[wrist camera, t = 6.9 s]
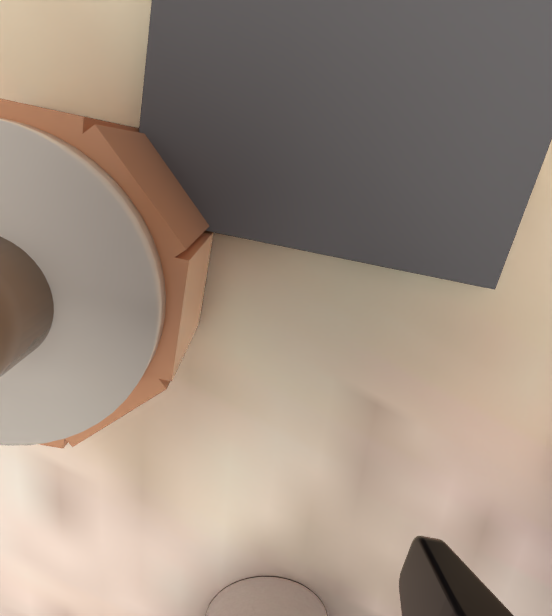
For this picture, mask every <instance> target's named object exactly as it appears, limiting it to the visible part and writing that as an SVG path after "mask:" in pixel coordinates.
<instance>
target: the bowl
mask: <svg viewBox="0 0 552 616" xmlns="http://www.w3.org/2000/svg"><path fill="white" fill-rule="evenodd" d="M0 118H5V119H9V120H13V121H16V122H20V123H24V124H27V125H31V126H33V127H36V128H38V129H40V130H43V131H45V132H48V133H50V134H53V135H54V136H56V137H58V138H60V139H62V140H63V141H65V142H67V143H69V144H71V145H72V146H74V147H76V148H77V149H78V150H80V151H81V152H82V153H84V154H85V155H87V156H88V157H89V158H91V159H92V160H93V161H95V162H96V163H97V164H98V165H99V166H100V167H101V168H102V169H104V170H105V171H106V172H107V173H108V174H109V175H110V176H111V177H112V178H113V179H114V180H115V181H116V182H117V183H118V185H119V186H120V187H121V188H122V189H123V190H124V192H125V193H126V194H127V195H128V196H129V198H130V199H131V201H132V202H133V204H134V205H135V207H136V208H137V210H138V211H139V213H140V214H141V216H142V217H143V219H144V221H145V223H146V225H147V227H148V229H149V231H150V233H151V235H152V237H153V240H154V243H155V245H156V248H157V251H158V254H159V256H160V260H161V265H162V269H163V274H164V279H165V291H166V311H165V321H164V326H163V331H162V336H161V339H160V342H159V344H158V347H157V350H156V353H155V355H154V357H153V358H152V360H151V362H150V364H149V366H148V368H147V370H146V371H145V373H144V374H143V376H142V378H141V379H140V381H139V383H138V384H137V385H136V387H135V388H134V390H133V391H132V392H131V394H130V395H129V396H128V398H127V399H126V400H125V401H124V402H123V403H122V404H121V405H120V406H119V407H118V408H117V409H116V410H115V411H114V412H113V413H112V414H110V415H109V416H107V417H106V418H105V419H103V420H102V421H101V422H99V423H98V424H96V425H94V426H92V427H90V428H89V429H87V430H85V431H83V432H81V433H78V434H75V435H73V436H70V437H68V438H65V439H61V440H57V441H53V442H48V443H42V444H40V445H46V446H52V447H58V448H64V447H65V446H66V444H67V443H68V442H69V444H70V445H71V446H72V447H73V446H75V445H77V444H78V443H80V442H81V441H83V440H85V439H86V438H88V437H90V436H91V435H93V434H94V433H96V432H98V431H99V430H101V429H102V428H104V427H106V426H107V425H109V424H111V423H112V422H114V421H115V420H117V419H119V418H120V417H122V416H124V415H125V414H127V413H128V412H130V411H132V410H133V409H135V408H136V407H138V406H140V405H141V404H143V403H145V402H146V401H148V400H149V399H151V398H153V397H154V396H156V395H157V394H159V393H161V392H162V391H164V390H166V389H167V387H168V385H169V383H170V381H172V380H173V378H174V375H175V373H176V371H177V369H178V367H179V365H180V363H181V361H182V359H183V356H184V354H185V352H186V350H187V348H188V346H189V344H190V342H191V339H192V337H193V335H194V333H195V331H196V329H197V327H198V325H199V322H200V315H201V309H202V303H203V297H204V290H205V284H206V278H207V271H208V265H209V259H210V253H211V246H212V240H213V234H214V232H210V231H205V230H206V229H207V228H208V227H209V225H208V223H207V222H206V220H205V219H204V217H203V216H202V215H201V213H200V212H199V210H198V209H197V207H196V206H195V205H194V203H193V202H192V200H191V199H190V198H189V196H188V195H187V193H186V192H185V190H184V189H183V188H182V186H181V185H180V183H179V182H178V180H177V179H176V178H175V176H174V175H173V173H172V172H171V170H170V169H169V168H168V166H167V165H166V163H165V162H164V161H163V159H162V158H161V156H160V155H159V153H158V152H157V151H156V149H155V148H154V146H153V145H152V143H151V142H150V141H149V139H148V138H147V136H146V135H145V134H144V133H139V128H134V127H130V126H125V125H120V124H116V123H111V122H106V121H102V120H97V119H93V118H88V117H83V116H79V115H74V114H69V113H65V112H60V111H56V110H51V109H46V108H42V107H37V106H32V105H28V104H23V103H18V102H14V101H9V100H5V99H0Z"/></svg>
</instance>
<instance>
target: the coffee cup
mask: <svg viewBox="0 0 552 616" xmlns="http://www.w3.org/2000/svg"><path fill="white" fill-rule="evenodd" d="M206 616H327V613H326V610H325V607H324V605H323V604H322V602H321V601H320V599H319V598H318V597H317V596H316V595H315V594H314V593H313V592H312V591H310V590H309V589H308V588H306V587H304V586H303V585H301V584H299V583H296V582H294V581H291V580H287V579H283V578H278V577H255V578H249V579H245V580H241V581H238V582H236V583H234V584H232V585H230V586H228V587H226V588H225V589H223V590H222V591H221V592H220V593H218V594H217V595H216V597H215V598H214V599H213V600H212V602H211V603H210V605H209V607H208V610H207V613H206Z"/></svg>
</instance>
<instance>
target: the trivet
mask: <svg viewBox="0 0 552 616" xmlns="http://www.w3.org/2000/svg"><path fill="white" fill-rule="evenodd" d="M139 133H144V134H145V135H146V136H147V138H148V139H149V141H150V142H151V143H152V145H153V146H154V148H155V149H156V151H157V152H158V153H159V155H160V156H161V158H162V159H163V161H164V162H165V163H166V165H167V166H168V168H169V169H170V170H171V172H172V173H173V175H174V176H175V178H176V179H177V180H178V182H179V183H180V185H181V186H182V188H183V189H184V190H185V192H186V193H187V195H188V196H189V198H190V199H191V200H192V202H193V203H194V205H195V206H196V207H197V209H198V210H199V212H200V213H201V215H202V216H203V217H204V219H205V220H206V222H207V223H208V225H209V227H208V228H207V229H206V230H205V231H210V232H215V233H220V234H225V235H230V236H235V237H240V238H245V239H249V240H254V241H259V242H264V243H269V244H274V245H279V246H284V247H289V248H294V249H299V250H303V251H308V252H313V253H318V254H323V255H328V256H333V257H338V258H343V259H348V260H352V261H357V262H362V263H367V264H372V265H377V266H382V267H387V268H392V269H397V270H402V271H406V272H411V273H416V274H421V275H426V276H431V277H436V278H441V279H446V280H451V281H456V282H460V283H465V284H470V285H475V286H480V287H485V288H490V289H495V288H496V285H497V283H498V280H499V277H500V275H501V272H502V269H503V267H504V264H505V261H506V259H507V256H508V253H509V251H510V248H511V246H512V243H513V240H514V238H515V235H516V232H517V230H518V227H519V224H520V222H521V219H522V216H523V214H524V211H525V208H526V206H527V203H528V200H529V198H530V195H531V193H532V190H533V187H534V185H535V182H536V179H537V177H538V174H539V171H540V169H541V166H542V163H543V161H544V158H545V155H546V153H547V150H548V147H549V145H550V142H551V140H552V0H152V5H151V15H150V25H149V36H148V46H147V56H146V66H145V76H144V86H143V96H142V107H141V117H140V127H139Z"/></svg>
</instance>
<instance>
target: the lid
mask: <svg viewBox="0 0 552 616" xmlns="http://www.w3.org/2000/svg"><path fill="white" fill-rule="evenodd" d="M165 311H166V291H165V279H164V274H163V269H162V265H161V260H160V256H159V254H158V251H157V248H156V245H155V243H154V240H153V237H152V235H151V233H150V231H149V229H148V227H147V225H146V223H145V221H144V219H143V217H142V216H141V214H140V213H139V211H138V210H137V208H136V207H135V205H134V204H133V202H132V201H131V199H130V198H129V196H128V195H127V194H126V193H125V192H124V190H123V189H122V188H121V187H120V186H119V185H118V183H117V182H116V181H115V180H114V179H113V178H112V177H111V176H110V175H109V174H108V173H107V172H106V171H105V170H104V169H102V168H101V167H100V166H99V165H98V164H97V163H96V162H95V161H93V160H92V159H91V158H89V157H88V156H87V155H85V154H84V153H82V152H81V151H80V150H78V149H77V148H76V147H74V146H72V145H71V144H69V143H67V142H65V141H63V140H62V139H60V138H58V137H56V136H54V135H53V134H50V133H48V132H45V131H43V130H40V129H38V128H36V127H33V126H31V125H27V124H24V123H20V122H16V121H13V120H9V119H5V118H0V445H33V444H42V443H48V442H53V441H57V440H61V439H65V438H68V437H70V436H73V435H75V434H78V433H81V432H83V431H85V430H87V429H89V428H90V427H92V426H94V425H96V424H98V423H99V422H101V421H102V420H103V419H105V418H106V417H107V416H109V415H110V414H112V413H113V412H114V411H115V410H116V409H117V408H118V407H119V406H120V405H121V404H122V403H123V402H124V401H125V400H126V399H127V398H128V396H129V395H130V394H131V392H132V391H133V390H134V388H135V387H136V385H137V384H138V383H139V381H140V379H141V378H142V376H143V374H144V373H145V371H146V370H147V368H148V366H149V364H150V362H151V360H152V358H153V357H154V355H155V353H156V350H157V347H158V344H159V342H160V339H161V336H162V331H163V326H164V321H165Z"/></svg>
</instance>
